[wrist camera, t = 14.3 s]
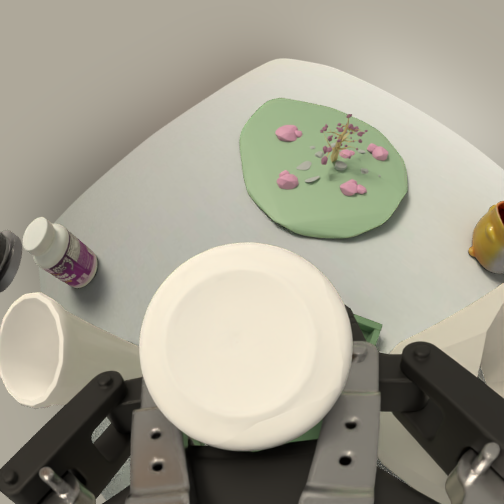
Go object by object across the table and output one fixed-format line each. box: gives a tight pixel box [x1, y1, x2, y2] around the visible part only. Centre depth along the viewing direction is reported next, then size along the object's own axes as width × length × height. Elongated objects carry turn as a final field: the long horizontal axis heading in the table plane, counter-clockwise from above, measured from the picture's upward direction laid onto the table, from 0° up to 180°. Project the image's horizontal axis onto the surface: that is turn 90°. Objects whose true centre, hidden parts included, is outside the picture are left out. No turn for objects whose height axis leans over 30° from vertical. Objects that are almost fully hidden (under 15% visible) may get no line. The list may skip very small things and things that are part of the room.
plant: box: [239, 98, 407, 238], centre depth 32 cm, size 25×21×9 cm
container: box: [378, 283, 504, 504], centre depth 14 cm, size 14×14×18 cm
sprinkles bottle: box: [139, 243, 353, 451], centre depth 12 cm, size 5×5×14 cm
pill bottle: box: [23, 217, 97, 288], centre depth 29 cm, size 5×5×10 cm
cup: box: [0, 292, 142, 409], centre depth 21 cm, size 8×8×14 cm
